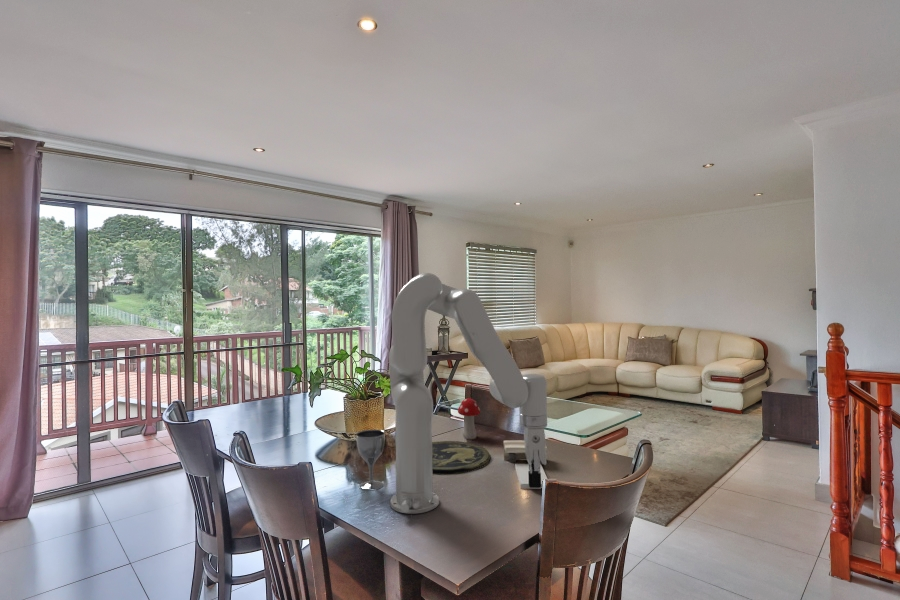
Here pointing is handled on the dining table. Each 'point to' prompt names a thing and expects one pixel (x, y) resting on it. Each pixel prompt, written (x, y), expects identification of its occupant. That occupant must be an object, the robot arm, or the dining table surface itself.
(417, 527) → the dining table surface
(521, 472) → the tile
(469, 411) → the decorative mushroom
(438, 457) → the decorative plate
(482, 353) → the robot arm
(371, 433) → the wine glass
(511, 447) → the low shelf
